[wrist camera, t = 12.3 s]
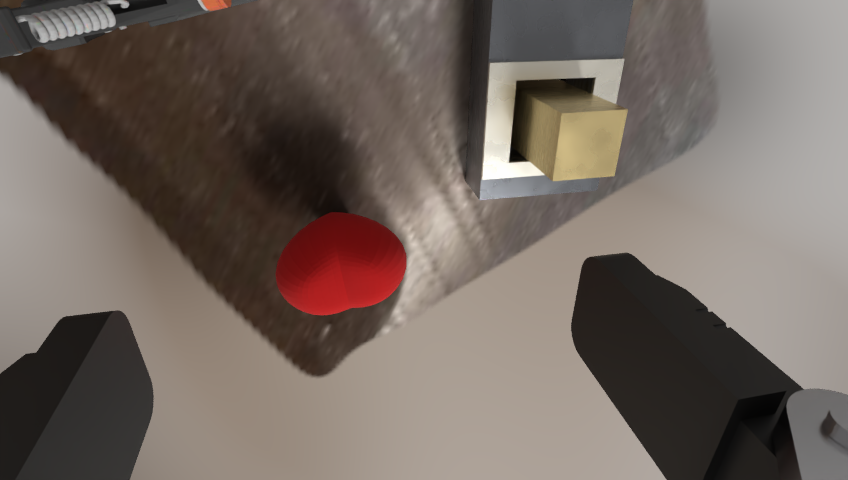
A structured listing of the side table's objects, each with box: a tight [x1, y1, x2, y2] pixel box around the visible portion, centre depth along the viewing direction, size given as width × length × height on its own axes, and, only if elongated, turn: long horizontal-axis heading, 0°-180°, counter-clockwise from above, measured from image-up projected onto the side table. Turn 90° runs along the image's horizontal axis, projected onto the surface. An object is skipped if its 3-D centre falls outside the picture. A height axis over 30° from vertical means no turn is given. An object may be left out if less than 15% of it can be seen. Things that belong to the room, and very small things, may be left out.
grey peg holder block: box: [465, 0, 633, 200], centre depth 34 cm, size 24×10×4 cm, turn 0°
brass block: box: [510, 79, 628, 181], centre depth 35 cm, size 4×4×10 cm
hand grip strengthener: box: [0, 0, 256, 58], centre depth 24 cm, size 2×13×15 cm, turn 101°
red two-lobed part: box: [276, 212, 406, 315], centre depth 36 cm, size 9×7×10 cm
